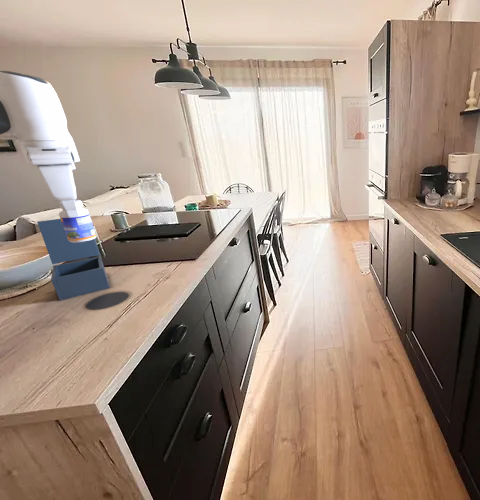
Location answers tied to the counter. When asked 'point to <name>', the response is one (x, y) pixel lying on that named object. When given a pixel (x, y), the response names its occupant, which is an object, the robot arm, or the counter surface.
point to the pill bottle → (77, 224)
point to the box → (79, 278)
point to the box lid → (64, 243)
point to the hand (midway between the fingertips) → (74, 214)
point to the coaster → (107, 300)
